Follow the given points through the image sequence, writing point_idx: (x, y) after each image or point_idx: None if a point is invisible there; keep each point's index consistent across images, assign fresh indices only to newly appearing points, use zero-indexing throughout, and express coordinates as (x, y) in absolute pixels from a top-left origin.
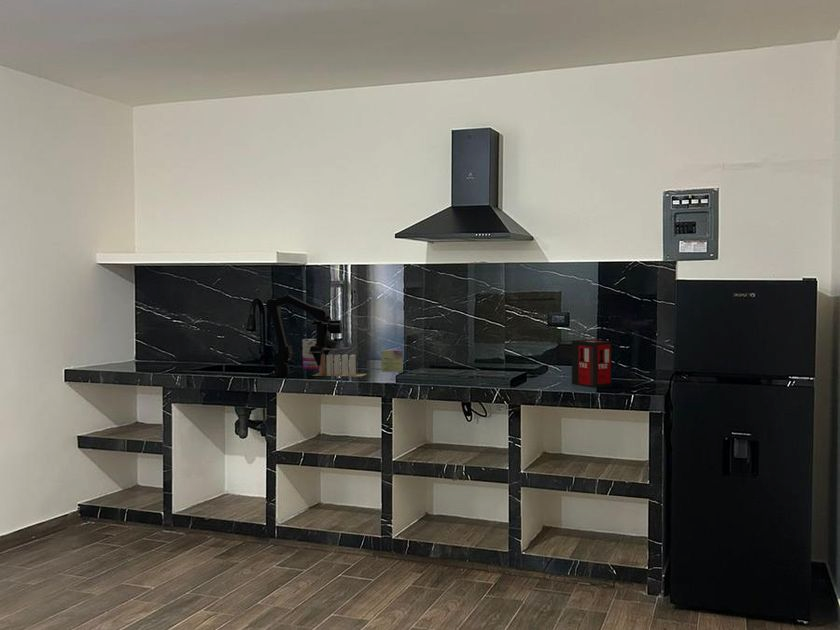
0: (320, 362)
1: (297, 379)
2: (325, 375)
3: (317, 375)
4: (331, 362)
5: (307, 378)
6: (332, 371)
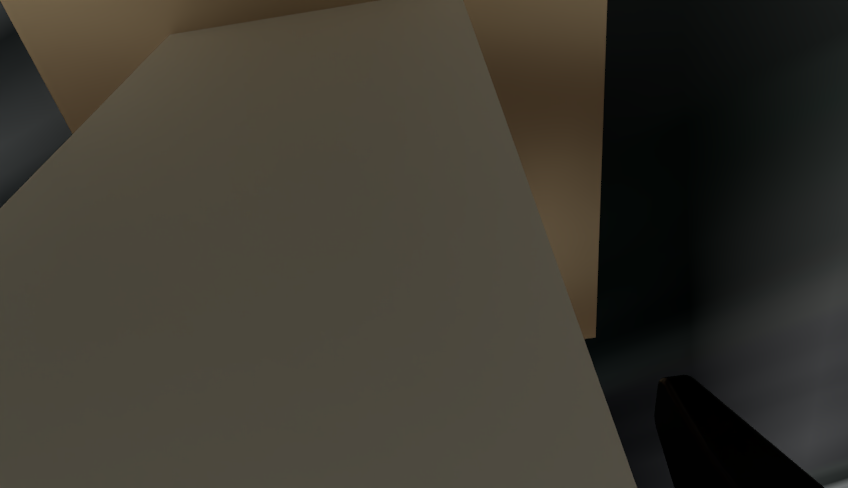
0: (742, 455)
1: (831, 383)
2: (536, 81)
3: (565, 249)
4: (194, 210)
5: (704, 316)
6: (195, 54)
